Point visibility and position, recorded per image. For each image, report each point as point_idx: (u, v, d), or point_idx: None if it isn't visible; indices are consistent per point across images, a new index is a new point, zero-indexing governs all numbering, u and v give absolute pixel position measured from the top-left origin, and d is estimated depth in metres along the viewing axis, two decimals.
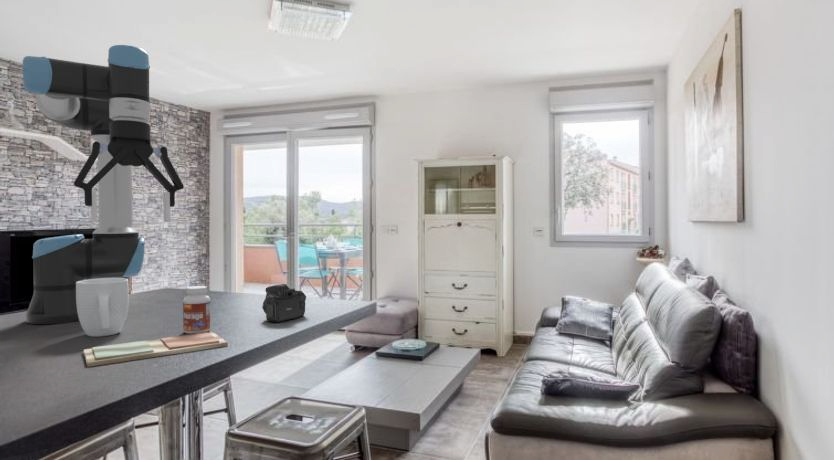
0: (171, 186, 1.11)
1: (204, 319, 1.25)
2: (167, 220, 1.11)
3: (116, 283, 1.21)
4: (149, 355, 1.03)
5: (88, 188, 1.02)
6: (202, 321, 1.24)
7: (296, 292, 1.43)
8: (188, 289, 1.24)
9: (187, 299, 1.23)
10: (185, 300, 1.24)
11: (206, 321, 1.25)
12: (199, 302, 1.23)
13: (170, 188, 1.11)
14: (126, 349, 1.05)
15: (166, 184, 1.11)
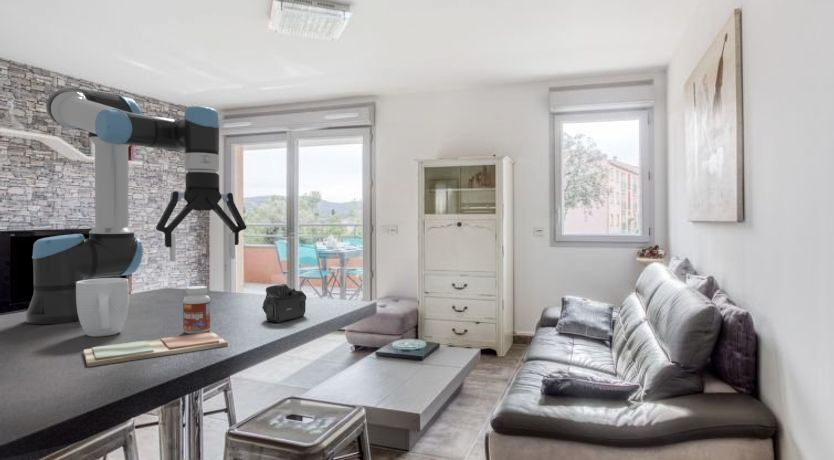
0: (236, 227, 1.27)
1: (204, 319, 1.25)
2: (232, 257, 1.26)
3: (116, 283, 1.21)
4: (149, 355, 1.03)
5: (168, 232, 1.17)
6: (202, 321, 1.24)
7: (296, 292, 1.43)
8: (188, 289, 1.24)
9: (187, 299, 1.23)
10: (185, 300, 1.24)
11: (206, 321, 1.25)
12: (199, 302, 1.23)
13: (235, 229, 1.26)
14: (126, 349, 1.05)
15: (232, 225, 1.26)
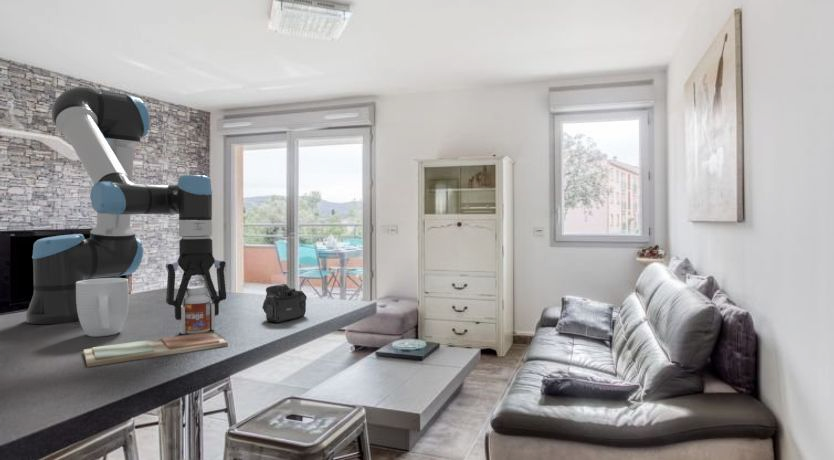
0: (217, 298, 1.28)
1: (205, 319, 1.25)
2: (212, 328, 1.27)
3: (116, 283, 1.21)
4: (149, 355, 1.03)
5: (179, 305, 1.22)
6: (202, 321, 1.24)
7: (296, 292, 1.43)
8: (188, 289, 1.24)
9: (187, 299, 1.23)
10: (185, 300, 1.24)
11: (206, 321, 1.25)
12: (199, 302, 1.23)
13: (215, 299, 1.27)
14: (126, 349, 1.05)
15: (213, 295, 1.27)
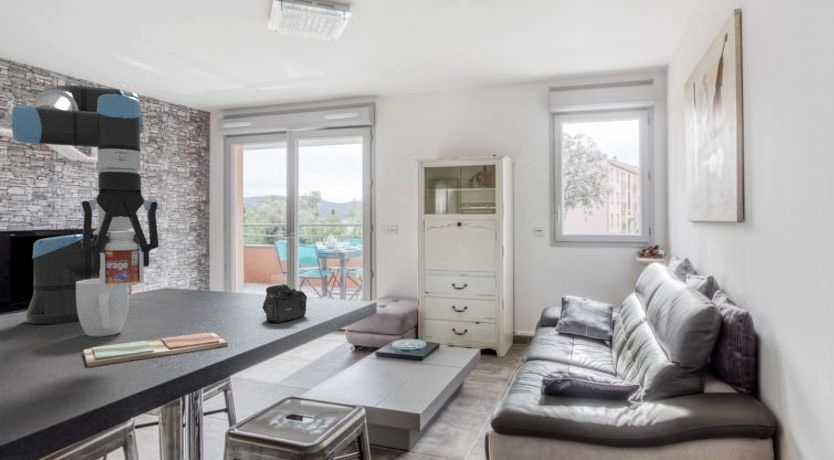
0: (146, 245, 1.06)
1: (130, 269, 1.03)
2: (140, 281, 1.06)
3: None
4: (149, 355, 1.03)
5: (97, 252, 1.01)
6: (127, 271, 1.03)
7: (297, 292, 1.42)
8: (110, 233, 1.03)
9: (108, 245, 1.02)
10: (106, 246, 1.02)
11: (132, 272, 1.04)
12: (123, 249, 1.02)
13: (144, 247, 1.06)
14: (126, 349, 1.05)
15: (142, 242, 1.06)
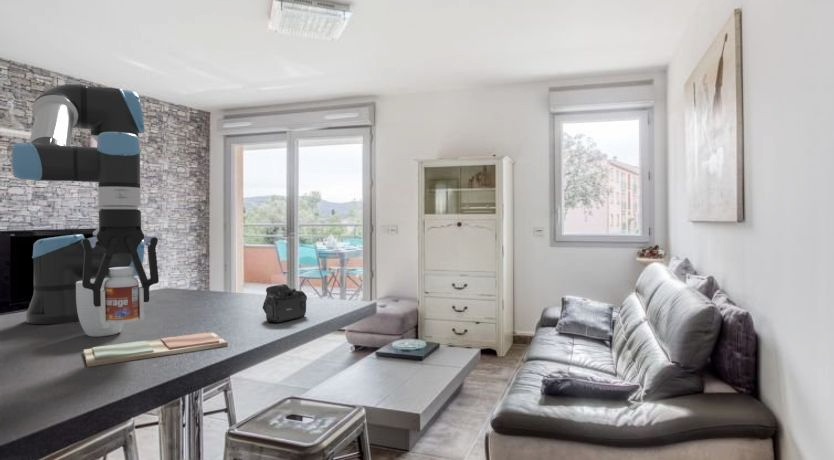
0: (146, 281, 1.07)
1: (130, 306, 1.04)
2: (141, 317, 1.06)
3: None
4: (149, 355, 1.03)
5: (97, 289, 1.01)
6: (127, 308, 1.03)
7: (297, 292, 1.42)
8: (110, 270, 1.03)
9: (108, 282, 1.02)
10: (106, 283, 1.03)
11: (132, 308, 1.04)
12: (123, 286, 1.02)
13: (144, 283, 1.06)
14: (126, 349, 1.05)
15: (142, 278, 1.06)
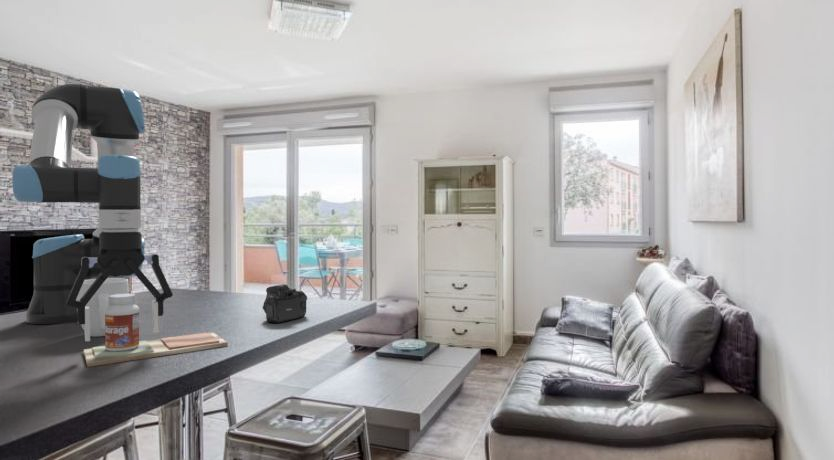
0: (160, 295, 1.08)
1: (131, 333, 1.04)
2: (155, 331, 1.08)
3: (116, 283, 1.21)
4: (149, 355, 1.03)
5: (81, 307, 1.00)
6: (127, 336, 1.03)
7: (297, 292, 1.42)
8: (111, 298, 1.03)
9: (109, 310, 1.03)
10: (107, 311, 1.03)
11: (133, 336, 1.04)
12: (124, 314, 1.03)
13: (158, 297, 1.08)
14: None
15: (155, 293, 1.08)
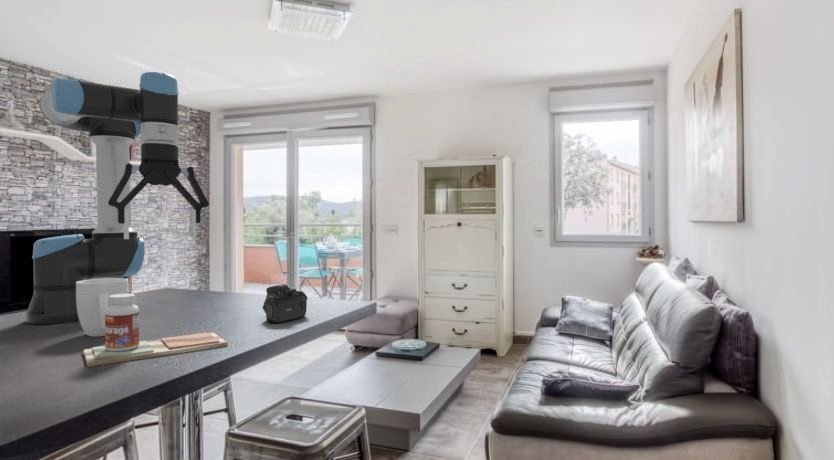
0: (197, 204, 1.18)
1: (131, 333, 1.04)
2: (193, 236, 1.18)
3: (116, 283, 1.21)
4: (149, 355, 1.03)
5: (121, 207, 1.09)
6: (127, 336, 1.03)
7: (297, 292, 1.42)
8: (110, 298, 1.03)
9: (109, 310, 1.03)
10: (107, 311, 1.03)
11: (133, 336, 1.04)
12: (123, 314, 1.03)
13: (196, 206, 1.18)
14: None
15: (192, 202, 1.17)
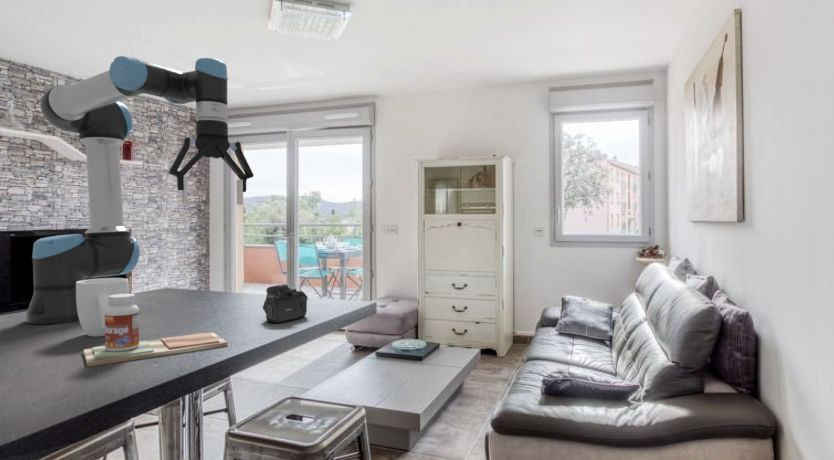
0: (244, 175, 1.34)
1: (131, 333, 1.04)
2: (240, 203, 1.33)
3: (116, 283, 1.21)
4: (149, 355, 1.03)
5: (181, 175, 1.25)
6: (127, 336, 1.03)
7: (297, 293, 1.42)
8: (110, 298, 1.03)
9: (109, 310, 1.03)
10: (106, 311, 1.03)
11: (133, 336, 1.04)
12: (123, 314, 1.03)
13: (243, 176, 1.34)
14: None
15: (240, 173, 1.33)
